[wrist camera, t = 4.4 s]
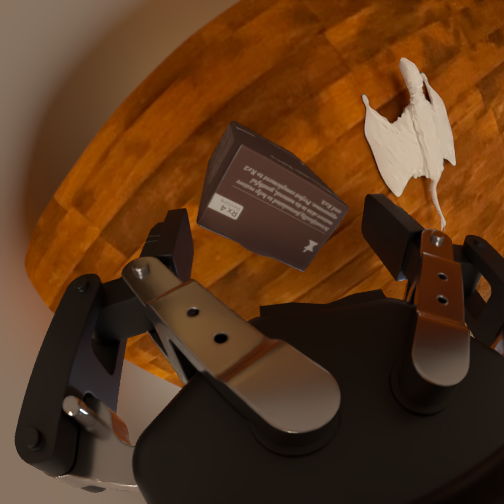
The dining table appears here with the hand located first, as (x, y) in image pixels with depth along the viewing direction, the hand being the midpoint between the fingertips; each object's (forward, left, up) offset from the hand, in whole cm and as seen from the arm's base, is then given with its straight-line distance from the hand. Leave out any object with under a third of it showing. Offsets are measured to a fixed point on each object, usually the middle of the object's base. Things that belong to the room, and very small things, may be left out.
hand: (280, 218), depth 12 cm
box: (0, 0, -12) cm, 12 cm away
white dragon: (+16, +1, -12) cm, 20 cm away
